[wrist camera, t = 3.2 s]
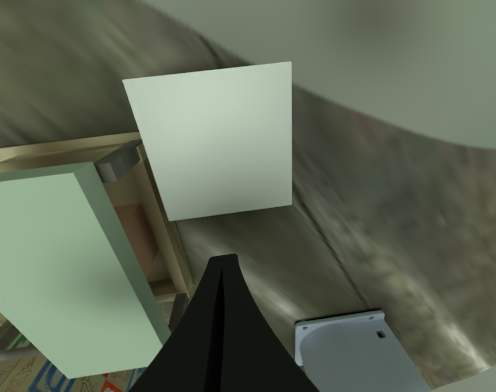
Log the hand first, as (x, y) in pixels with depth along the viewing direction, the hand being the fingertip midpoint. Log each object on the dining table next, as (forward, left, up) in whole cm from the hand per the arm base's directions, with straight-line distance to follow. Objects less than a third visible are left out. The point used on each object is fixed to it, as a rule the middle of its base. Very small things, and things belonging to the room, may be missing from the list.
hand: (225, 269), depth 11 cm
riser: (-1, -5, -5) cm, 8 cm away
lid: (+7, 0, 0) cm, 7 cm away
